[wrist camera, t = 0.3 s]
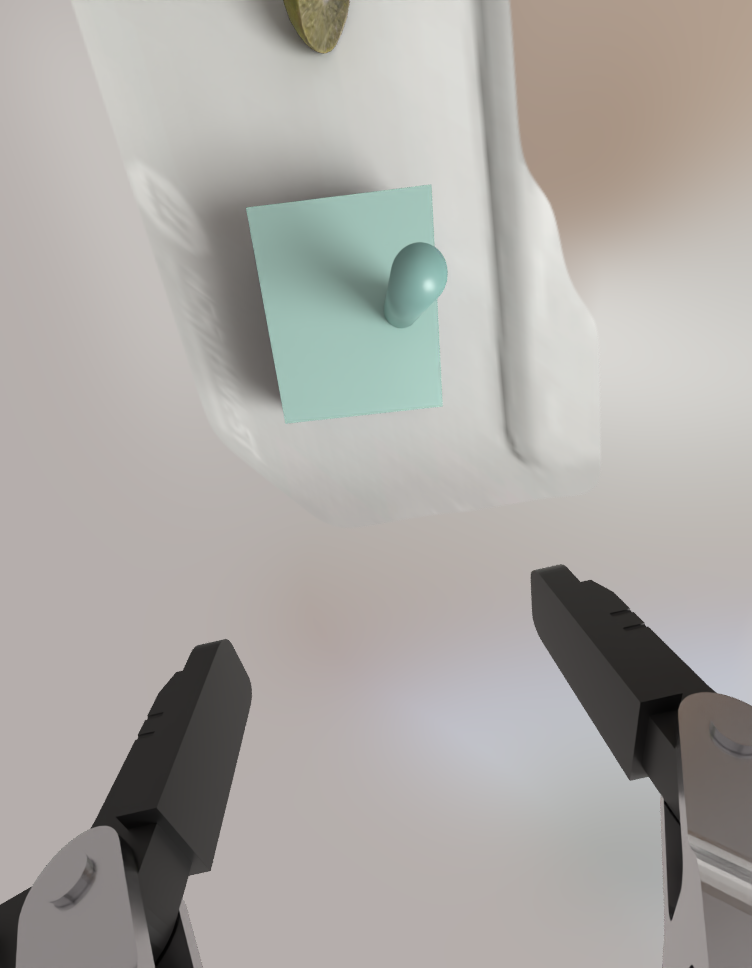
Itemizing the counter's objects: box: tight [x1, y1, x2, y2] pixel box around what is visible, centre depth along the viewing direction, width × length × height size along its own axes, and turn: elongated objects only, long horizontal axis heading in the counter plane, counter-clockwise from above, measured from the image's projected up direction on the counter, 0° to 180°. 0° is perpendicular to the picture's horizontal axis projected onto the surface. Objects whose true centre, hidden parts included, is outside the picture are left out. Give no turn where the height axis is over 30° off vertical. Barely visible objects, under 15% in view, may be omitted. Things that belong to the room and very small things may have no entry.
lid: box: [246, 185, 447, 424], centre depth 22 cm, size 14×12×12 cm
